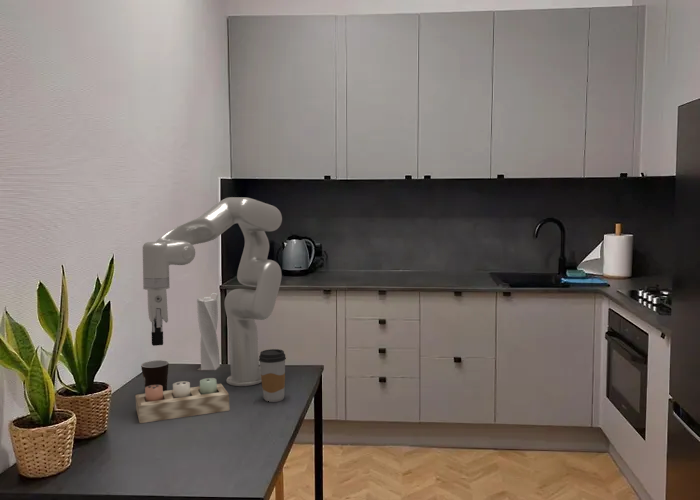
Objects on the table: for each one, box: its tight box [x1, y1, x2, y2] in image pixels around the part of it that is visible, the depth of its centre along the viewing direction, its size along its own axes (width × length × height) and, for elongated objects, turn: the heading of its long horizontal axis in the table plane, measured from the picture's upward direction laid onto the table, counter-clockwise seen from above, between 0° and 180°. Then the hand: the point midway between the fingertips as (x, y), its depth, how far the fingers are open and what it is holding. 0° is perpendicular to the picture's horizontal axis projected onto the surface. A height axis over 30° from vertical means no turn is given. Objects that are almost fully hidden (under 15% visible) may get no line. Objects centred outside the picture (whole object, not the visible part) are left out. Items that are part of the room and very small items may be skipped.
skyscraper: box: [196, 292, 222, 371], centre depth 267 cm, size 8×8×28 cm
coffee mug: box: [140, 359, 169, 391], centre depth 240 cm, size 12×9×10 cm
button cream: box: [172, 380, 191, 398], centre depth 221 cm, size 5×5×5 cm
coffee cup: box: [258, 348, 287, 403], centre depth 230 cm, size 8×8×15 cm
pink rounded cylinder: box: [144, 385, 163, 402], centre depth 219 cm, size 5×5×5 cm
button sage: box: [199, 377, 218, 395], centre depth 224 cm, size 5×5×5 cm
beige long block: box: [134, 383, 230, 424], centre depth 222 cm, size 26×12×5 cm, turn 110°
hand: (157, 344), depth 220 cm, fingers closed
